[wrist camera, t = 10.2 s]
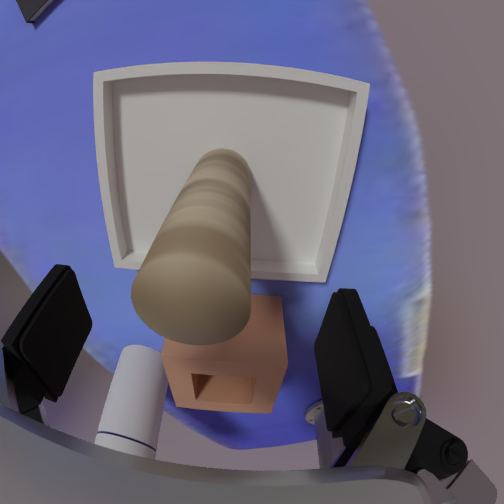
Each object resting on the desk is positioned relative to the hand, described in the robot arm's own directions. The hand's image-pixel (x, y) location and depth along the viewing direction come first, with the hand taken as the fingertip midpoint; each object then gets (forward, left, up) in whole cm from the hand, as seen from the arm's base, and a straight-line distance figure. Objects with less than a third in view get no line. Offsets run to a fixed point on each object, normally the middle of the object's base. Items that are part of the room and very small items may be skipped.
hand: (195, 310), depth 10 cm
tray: (0, 0, -14) cm, 14 cm away
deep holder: (-17, -1, -14) cm, 21 cm away
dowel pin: (0, 0, -13) cm, 13 cm away
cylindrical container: (-26, +10, -14) cm, 31 cm away
